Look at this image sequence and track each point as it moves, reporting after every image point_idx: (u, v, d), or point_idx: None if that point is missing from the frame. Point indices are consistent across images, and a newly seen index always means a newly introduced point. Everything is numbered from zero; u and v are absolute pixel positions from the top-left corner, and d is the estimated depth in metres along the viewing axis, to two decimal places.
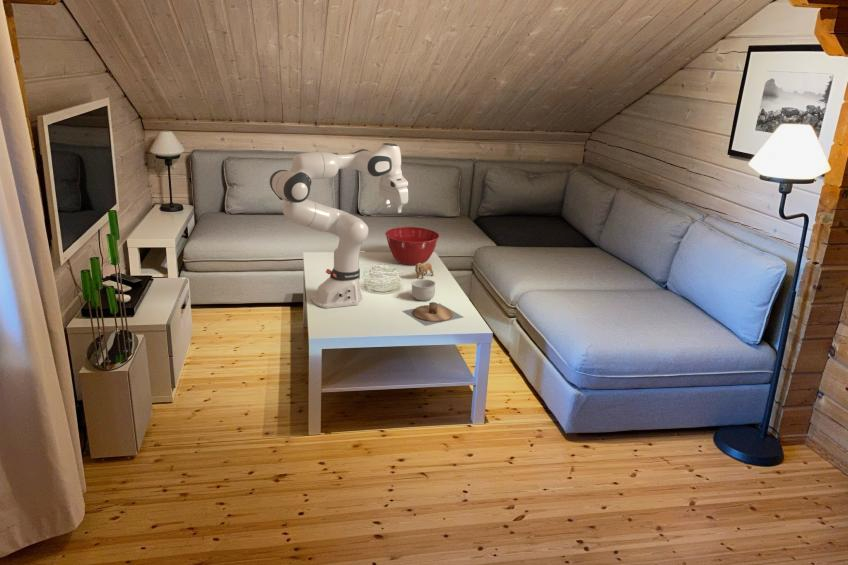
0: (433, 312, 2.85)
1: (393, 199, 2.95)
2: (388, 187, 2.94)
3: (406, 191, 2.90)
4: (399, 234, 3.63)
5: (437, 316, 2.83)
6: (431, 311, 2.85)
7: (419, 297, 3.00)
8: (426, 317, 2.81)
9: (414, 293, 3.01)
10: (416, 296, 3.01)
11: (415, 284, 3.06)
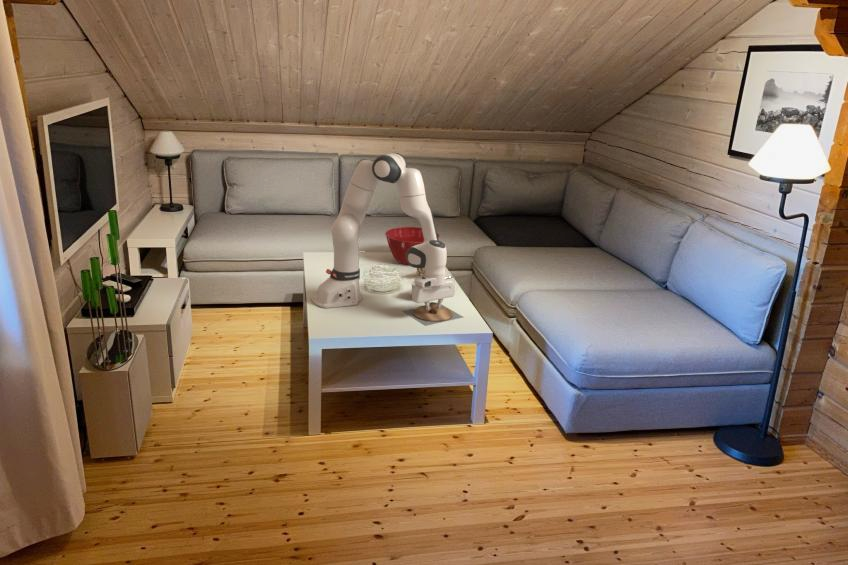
0: (433, 312, 2.85)
1: None
2: None
3: (417, 290, 2.77)
4: (398, 234, 3.63)
5: (437, 316, 2.83)
6: (431, 311, 2.85)
7: None
8: (426, 317, 2.81)
9: None
10: None
11: None
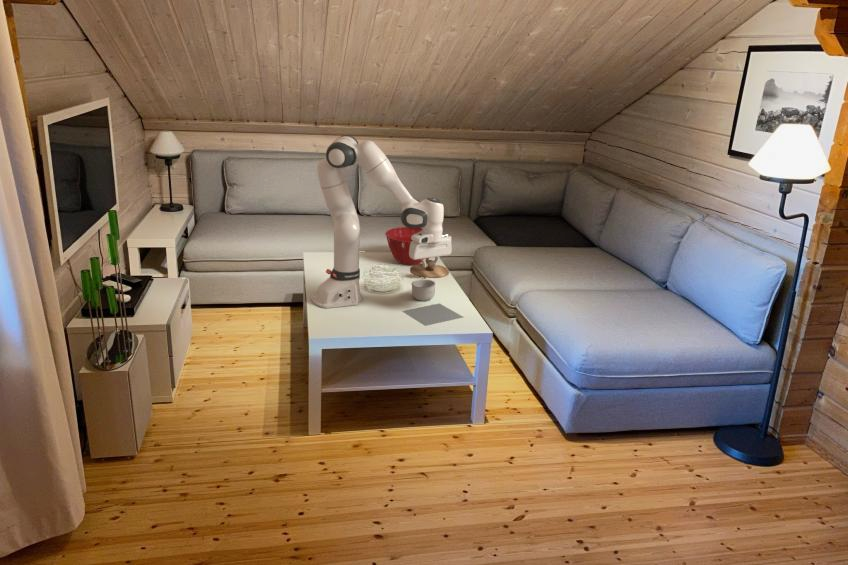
0: (430, 269, 2.89)
1: None
2: None
3: (414, 246, 2.81)
4: (399, 234, 3.63)
5: (433, 273, 2.87)
6: (428, 268, 2.89)
7: (419, 297, 3.00)
8: (422, 273, 2.85)
9: (414, 293, 3.01)
10: (416, 296, 3.01)
11: (415, 284, 3.06)
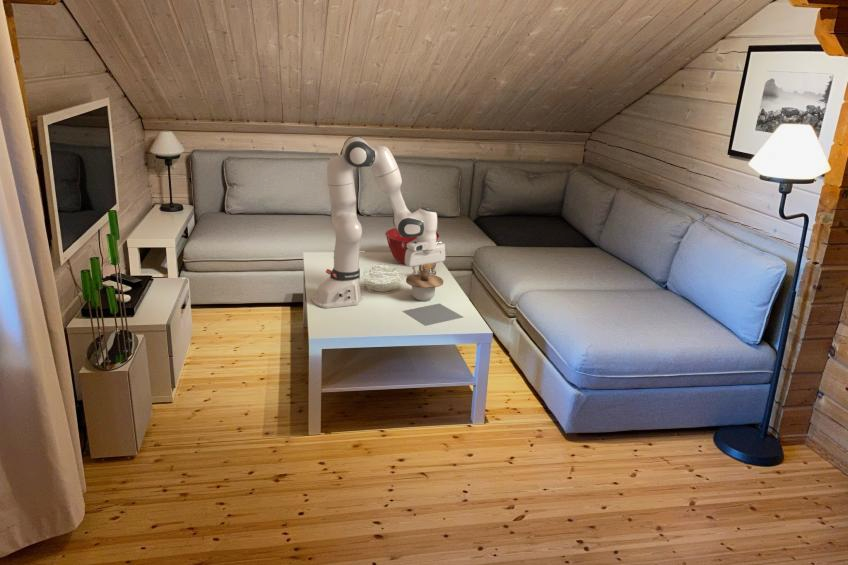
0: (425, 279, 3.02)
1: None
2: None
3: (409, 254, 2.93)
4: (399, 234, 3.63)
5: (429, 283, 3.00)
6: (423, 278, 3.02)
7: (419, 297, 3.00)
8: (418, 284, 2.98)
9: (414, 293, 3.01)
10: (416, 296, 3.00)
11: None
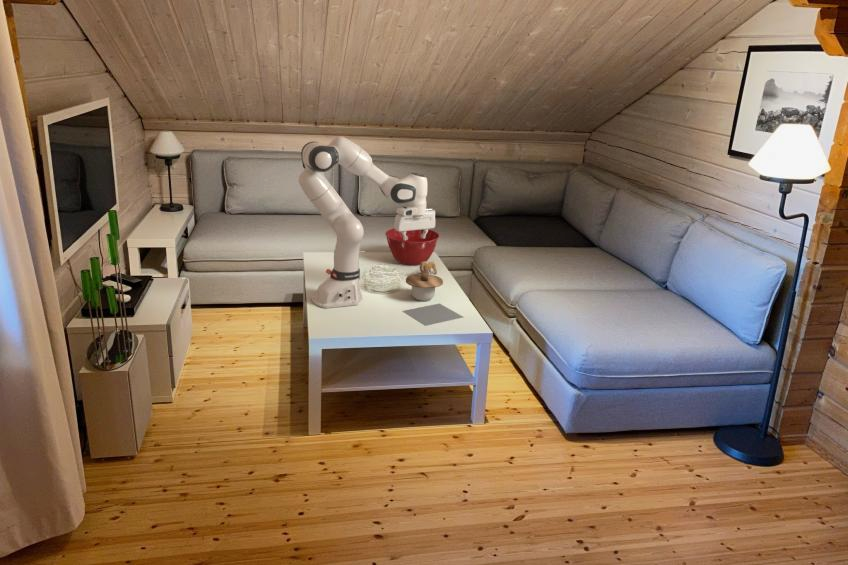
0: (424, 280, 3.02)
1: None
2: None
3: (399, 218, 2.94)
4: (399, 234, 3.63)
5: (428, 283, 2.99)
6: (423, 279, 3.02)
7: (419, 297, 3.00)
8: (418, 284, 2.98)
9: (414, 293, 3.01)
10: (416, 296, 3.00)
11: None
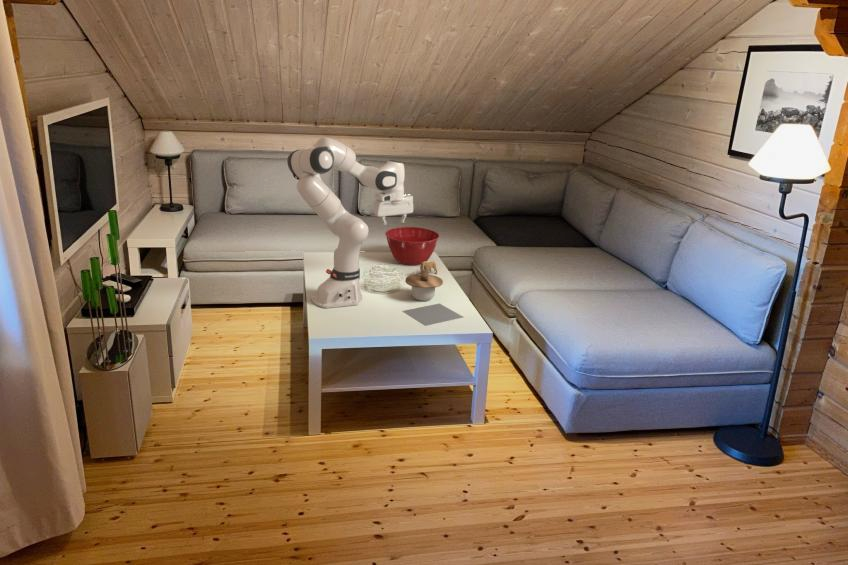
0: (424, 280, 3.01)
1: None
2: None
3: (378, 204, 3.05)
4: (399, 234, 3.63)
5: (428, 283, 2.99)
6: (422, 279, 3.01)
7: (419, 297, 3.00)
8: (418, 284, 2.98)
9: (414, 293, 3.01)
10: (416, 296, 3.00)
11: None
